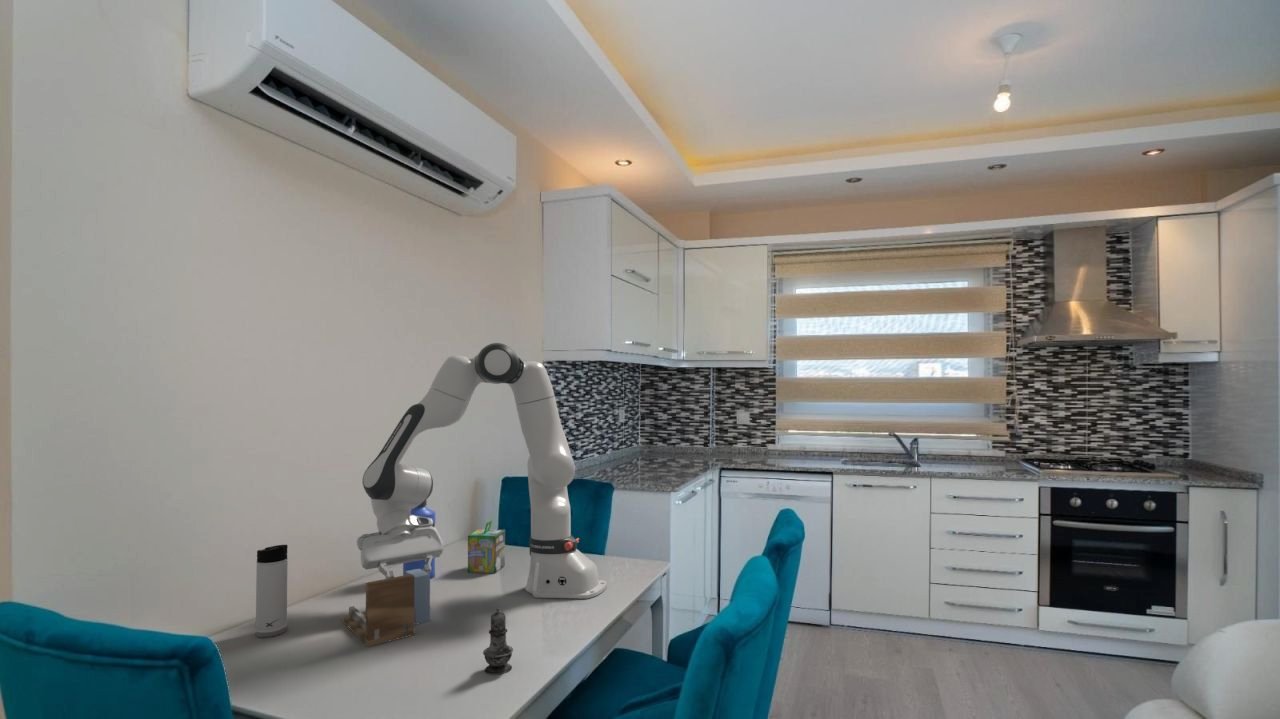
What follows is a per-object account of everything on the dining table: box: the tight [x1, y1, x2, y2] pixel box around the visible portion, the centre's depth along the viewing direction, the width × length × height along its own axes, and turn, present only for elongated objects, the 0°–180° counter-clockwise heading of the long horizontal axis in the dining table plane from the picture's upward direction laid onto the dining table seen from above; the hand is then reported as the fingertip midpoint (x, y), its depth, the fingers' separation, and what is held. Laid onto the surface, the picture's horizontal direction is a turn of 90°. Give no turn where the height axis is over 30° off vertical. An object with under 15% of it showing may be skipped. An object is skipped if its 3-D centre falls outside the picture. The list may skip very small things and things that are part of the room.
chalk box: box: [467, 519, 506, 574], centre depth 200 cm, size 9×9×15 cm
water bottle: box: [402, 499, 436, 580], centre depth 192 cm, size 9×9×25 cm
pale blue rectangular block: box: [405, 569, 431, 625], centre depth 157 cm, size 7×4×11 cm, turn 39°
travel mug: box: [255, 544, 289, 638], centre depth 149 cm, size 6×7×20 cm
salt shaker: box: [482, 607, 514, 676], centre depth 127 cm, size 6×6×12 cm
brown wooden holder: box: [342, 574, 415, 647], centre depth 150 cm, size 20×10×13 cm, turn 39°
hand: (409, 575), depth 161 cm, fingers open, 8 cm apart
